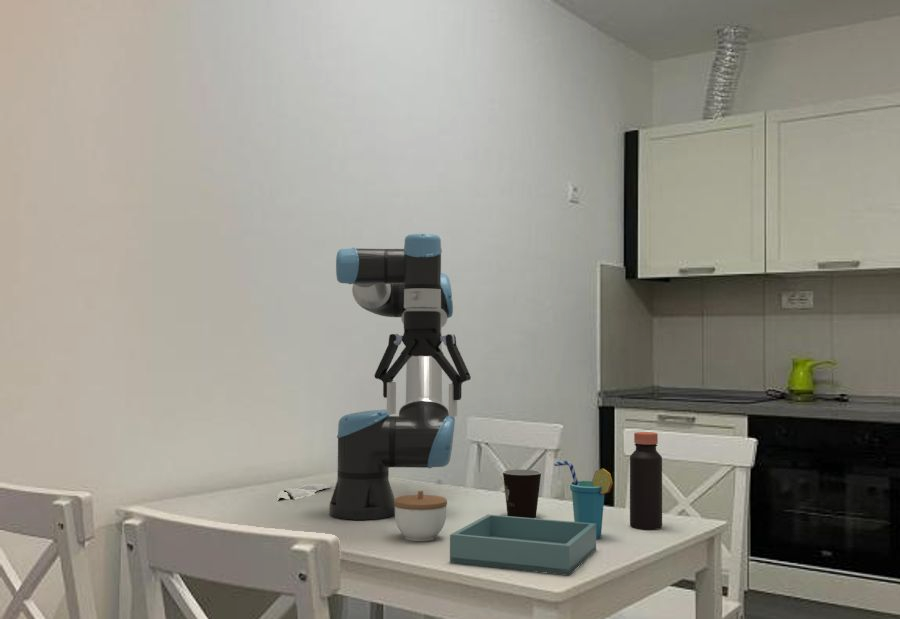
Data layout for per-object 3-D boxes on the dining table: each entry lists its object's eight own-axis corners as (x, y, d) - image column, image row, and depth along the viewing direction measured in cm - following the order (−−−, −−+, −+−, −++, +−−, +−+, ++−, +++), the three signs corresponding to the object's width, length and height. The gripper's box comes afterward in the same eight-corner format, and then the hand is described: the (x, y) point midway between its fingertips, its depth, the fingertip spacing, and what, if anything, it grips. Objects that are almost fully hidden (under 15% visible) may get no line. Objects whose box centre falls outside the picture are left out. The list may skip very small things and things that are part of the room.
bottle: (667, 529, 191) (667, 434, 192) (636, 530, 190) (636, 435, 191) (654, 523, 198) (654, 431, 199) (625, 523, 197) (625, 431, 197)
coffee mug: (538, 521, 199) (539, 475, 199) (500, 519, 201) (500, 474, 201) (544, 511, 210) (544, 468, 211) (507, 509, 212) (507, 466, 212)
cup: (545, 534, 186) (545, 461, 186) (564, 528, 192) (564, 457, 193) (606, 544, 178) (606, 467, 178) (624, 537, 184) (624, 463, 184)
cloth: (315, 485, 248) (315, 477, 248) (354, 491, 241) (354, 482, 241) (245, 500, 226) (245, 490, 226) (285, 506, 219) (285, 496, 219)
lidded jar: (427, 546, 175) (428, 497, 175) (383, 539, 181) (383, 492, 181) (456, 536, 184) (457, 489, 184) (413, 530, 190) (413, 485, 190)
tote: (449, 562, 163) (450, 534, 163) (487, 539, 181) (487, 514, 181) (569, 575, 154) (569, 546, 154) (596, 549, 173) (596, 523, 173)
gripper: (358, 310, 185) (358, 414, 184) (473, 309, 176) (472, 419, 175) (375, 311, 192) (374, 411, 191) (486, 310, 183) (486, 416, 182)
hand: (421, 415), depth 183 cm, fingers open, 13 cm apart
